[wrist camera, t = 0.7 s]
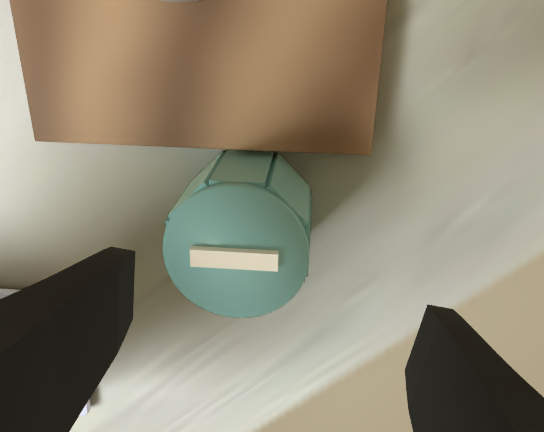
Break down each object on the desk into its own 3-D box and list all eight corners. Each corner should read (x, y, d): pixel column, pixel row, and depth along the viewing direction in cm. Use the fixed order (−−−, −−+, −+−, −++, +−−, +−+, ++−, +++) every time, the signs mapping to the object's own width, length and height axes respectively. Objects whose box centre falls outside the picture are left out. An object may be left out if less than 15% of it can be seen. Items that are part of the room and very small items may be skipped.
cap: (194, 257, 23) (165, 318, 19) (188, 147, 21) (154, 187, 17) (307, 263, 23) (305, 327, 18) (313, 152, 21) (312, 194, 16)
